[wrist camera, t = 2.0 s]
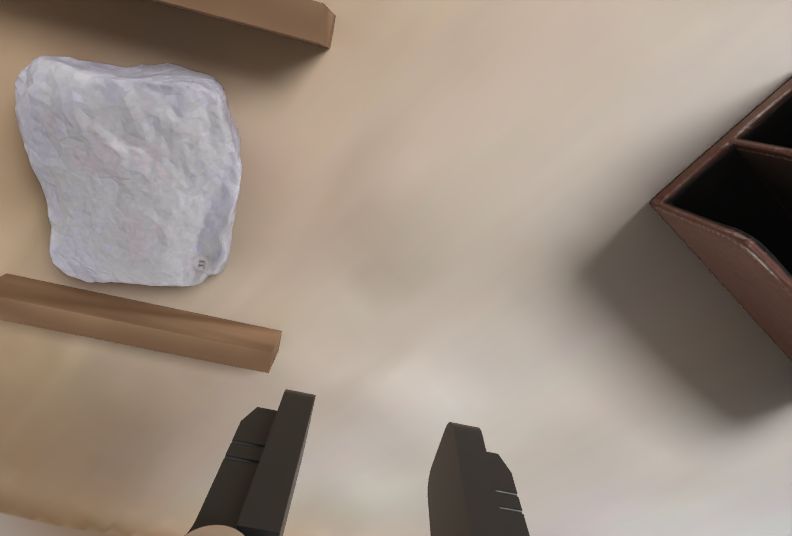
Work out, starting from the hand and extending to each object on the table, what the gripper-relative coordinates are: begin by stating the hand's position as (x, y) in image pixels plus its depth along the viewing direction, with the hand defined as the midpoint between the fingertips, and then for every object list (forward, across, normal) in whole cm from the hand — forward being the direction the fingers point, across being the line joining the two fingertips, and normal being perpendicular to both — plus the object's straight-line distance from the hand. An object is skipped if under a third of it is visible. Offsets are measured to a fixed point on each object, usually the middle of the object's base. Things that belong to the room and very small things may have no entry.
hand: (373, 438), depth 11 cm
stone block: (+18, +13, 0) cm, 22 cm away
